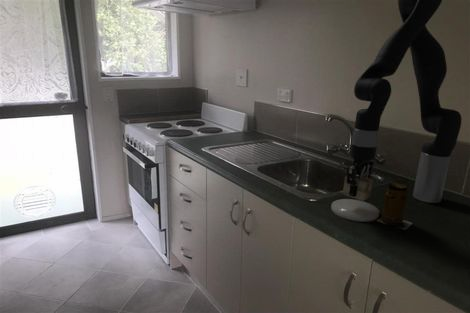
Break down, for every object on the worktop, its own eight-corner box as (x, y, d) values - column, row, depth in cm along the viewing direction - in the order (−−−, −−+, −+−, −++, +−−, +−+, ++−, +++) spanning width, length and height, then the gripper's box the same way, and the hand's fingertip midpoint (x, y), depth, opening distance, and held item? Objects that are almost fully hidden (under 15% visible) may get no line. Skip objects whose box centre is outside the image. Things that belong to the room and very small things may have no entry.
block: (350, 190, 116) (352, 173, 115) (370, 197, 112) (372, 179, 110) (342, 194, 113) (345, 176, 111) (362, 200, 108) (365, 183, 107)
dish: (345, 198, 124) (345, 195, 124) (386, 212, 114) (387, 209, 113) (322, 210, 114) (322, 206, 113) (365, 226, 103) (366, 222, 103)
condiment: (385, 214, 112) (391, 180, 109) (412, 223, 107) (419, 187, 104) (376, 221, 107) (382, 185, 104) (404, 231, 102) (412, 193, 98)
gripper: (363, 138, 115) (356, 185, 119) (341, 143, 105) (334, 195, 110) (385, 142, 110) (377, 192, 114) (365, 149, 100) (356, 203, 105)
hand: (356, 193), depth 112 cm, fingers closed on block, 5 cm apart
